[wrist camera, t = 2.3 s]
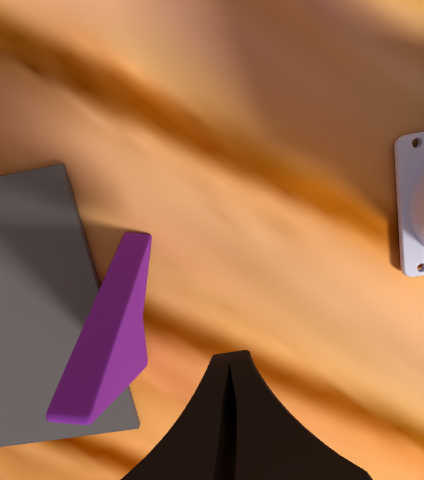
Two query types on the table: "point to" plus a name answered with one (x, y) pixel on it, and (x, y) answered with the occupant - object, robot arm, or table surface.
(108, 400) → the arrowhead
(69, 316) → the mat
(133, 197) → the table surface
